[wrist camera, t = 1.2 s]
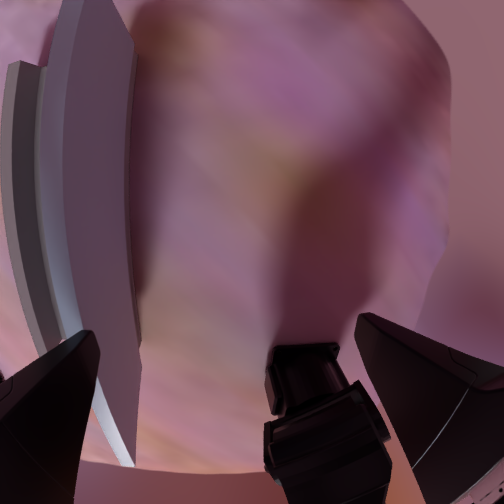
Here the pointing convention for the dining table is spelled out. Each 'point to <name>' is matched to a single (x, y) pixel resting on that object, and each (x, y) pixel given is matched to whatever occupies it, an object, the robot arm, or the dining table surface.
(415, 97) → the dining table surface
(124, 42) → the cover
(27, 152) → the grey tray with bar
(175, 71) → the dining table surface
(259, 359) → the dining table surface
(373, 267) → the dining table surface
